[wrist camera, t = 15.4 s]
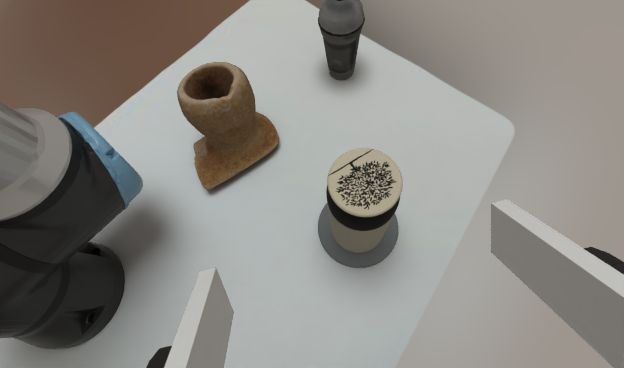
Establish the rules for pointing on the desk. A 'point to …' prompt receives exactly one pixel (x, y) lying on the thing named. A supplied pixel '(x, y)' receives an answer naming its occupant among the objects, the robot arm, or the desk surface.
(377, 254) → the mat
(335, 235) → the travel mug
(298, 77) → the desk surface
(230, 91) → the stone cup
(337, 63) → the beverage cup
